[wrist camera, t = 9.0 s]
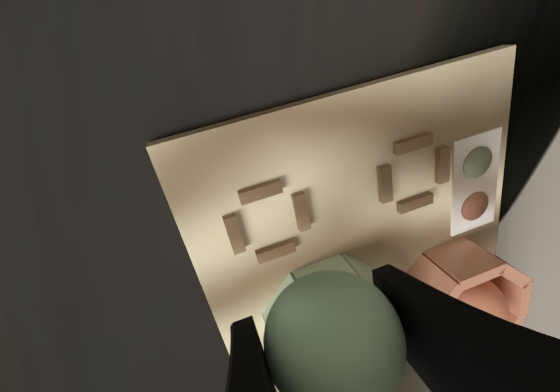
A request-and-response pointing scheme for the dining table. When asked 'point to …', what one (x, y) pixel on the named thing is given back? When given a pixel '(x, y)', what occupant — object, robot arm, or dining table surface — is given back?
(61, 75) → the dining table surface
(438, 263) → the terracotta tube
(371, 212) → the board
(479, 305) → the terracotta ball
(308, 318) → the sage ball
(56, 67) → the dining table surface
